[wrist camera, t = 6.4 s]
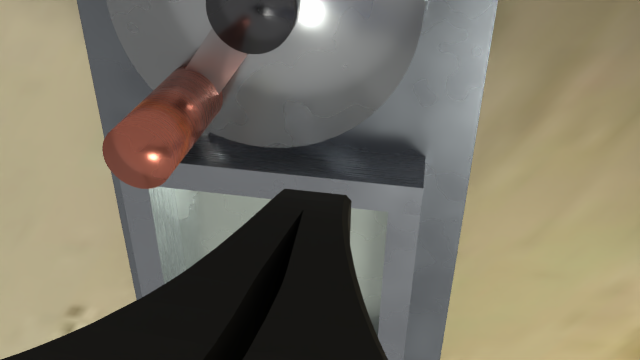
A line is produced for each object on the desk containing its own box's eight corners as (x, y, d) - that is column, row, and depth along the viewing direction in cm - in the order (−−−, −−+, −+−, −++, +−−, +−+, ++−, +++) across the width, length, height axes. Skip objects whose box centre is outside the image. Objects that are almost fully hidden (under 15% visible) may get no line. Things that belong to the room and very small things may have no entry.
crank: (223, -279, 15) (118, -320, 10) (496, -36, 16) (514, 25, 12) (80, 8, 19) (-38, 71, 15) (304, 175, 21) (263, 278, 16)
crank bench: (536, -262, 15) (561, -283, 11) (436, 365, 26) (434, 446, 23) (45, -258, 17) (-57, -275, 13) (154, 323, 28) (113, 393, 25)
